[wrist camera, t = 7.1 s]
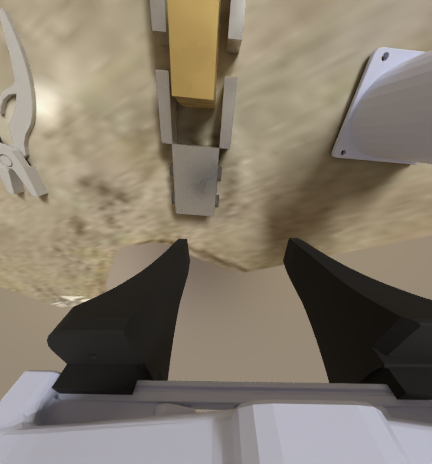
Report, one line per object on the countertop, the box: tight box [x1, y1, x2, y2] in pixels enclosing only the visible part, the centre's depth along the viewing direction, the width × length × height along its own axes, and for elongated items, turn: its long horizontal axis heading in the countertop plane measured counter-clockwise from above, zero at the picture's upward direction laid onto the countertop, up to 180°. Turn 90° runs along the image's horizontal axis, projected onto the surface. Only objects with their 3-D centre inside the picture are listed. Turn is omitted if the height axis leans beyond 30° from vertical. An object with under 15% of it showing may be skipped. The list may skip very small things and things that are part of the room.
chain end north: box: [155, 69, 238, 216], centre depth 16 cm, size 6×12×2 cm, turn 176°
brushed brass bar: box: [167, 0, 221, 109], centre depth 12 cm, size 3×6×4 cm, turn 175°
